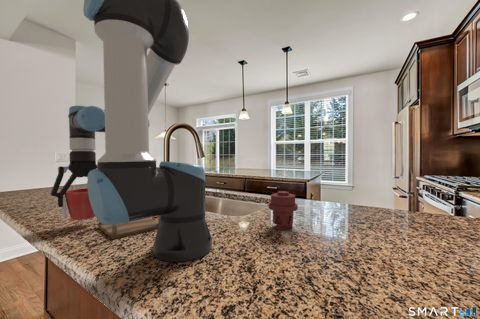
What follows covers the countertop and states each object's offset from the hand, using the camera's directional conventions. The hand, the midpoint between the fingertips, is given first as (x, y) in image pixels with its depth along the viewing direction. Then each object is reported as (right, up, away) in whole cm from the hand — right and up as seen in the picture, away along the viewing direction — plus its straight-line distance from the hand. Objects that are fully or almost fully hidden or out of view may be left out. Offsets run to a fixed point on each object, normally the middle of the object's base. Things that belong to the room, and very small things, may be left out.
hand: (84, 213), depth 79 cm
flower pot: (0, -2, 0) cm, 2 cm away
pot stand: (+17, -5, -1) cm, 18 cm away
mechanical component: (+70, -5, -1) cm, 70 cm away
